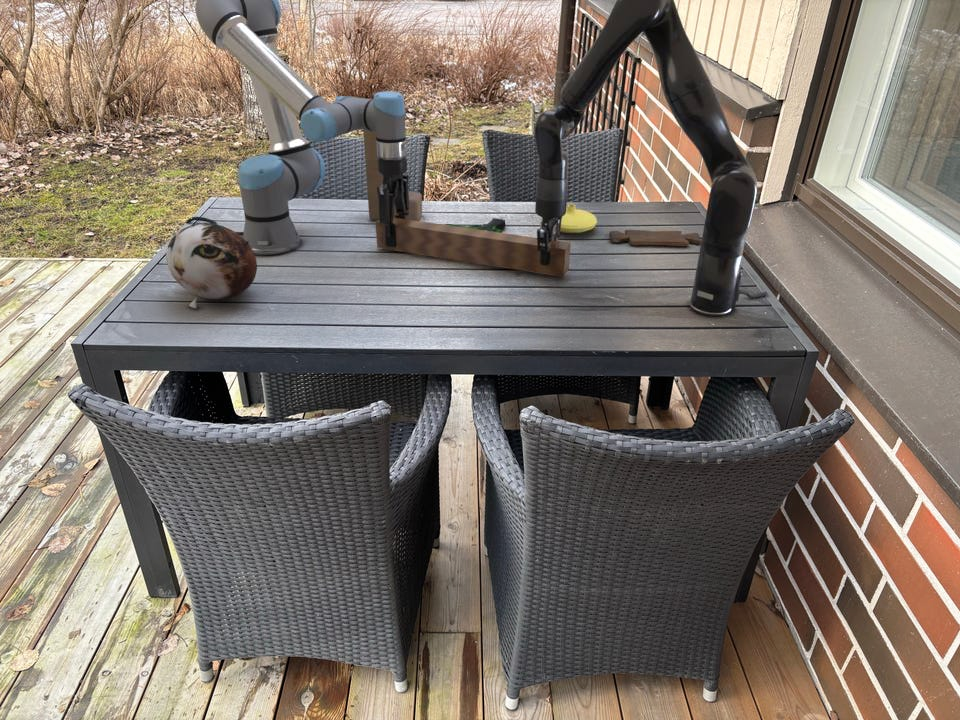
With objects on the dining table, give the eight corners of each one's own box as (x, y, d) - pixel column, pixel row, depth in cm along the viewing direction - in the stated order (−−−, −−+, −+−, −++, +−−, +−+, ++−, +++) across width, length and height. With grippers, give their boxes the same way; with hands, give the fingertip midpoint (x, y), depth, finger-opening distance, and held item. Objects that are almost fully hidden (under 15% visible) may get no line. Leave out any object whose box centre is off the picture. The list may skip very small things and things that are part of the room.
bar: (377, 247, 194) (375, 221, 190) (385, 241, 198) (383, 216, 195) (563, 277, 178) (565, 249, 174) (568, 269, 182) (570, 242, 178)
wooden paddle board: (704, 248, 200) (696, 236, 208) (705, 243, 199) (697, 230, 207) (612, 245, 200) (607, 232, 208) (612, 239, 199) (608, 227, 208)
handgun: (511, 219, 210) (493, 234, 198) (511, 228, 211) (492, 244, 199) (461, 212, 215) (440, 226, 203) (461, 221, 217) (440, 236, 204)
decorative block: (417, 223, 213) (414, 119, 198) (368, 220, 215) (361, 117, 199) (422, 214, 220) (419, 113, 204) (375, 212, 221) (368, 111, 206)
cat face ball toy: (130, 285, 161) (164, 203, 163) (192, 308, 177) (221, 233, 178) (195, 307, 151) (229, 220, 152) (254, 330, 166) (285, 250, 168)
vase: (559, 216, 220) (561, 193, 217) (605, 227, 212) (608, 204, 209) (532, 230, 209) (533, 207, 206) (580, 242, 201) (582, 218, 198)
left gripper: (388, 167, 174) (392, 256, 186) (420, 149, 189) (423, 233, 200) (361, 164, 176) (367, 252, 188) (395, 146, 191) (399, 229, 203)
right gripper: (558, 205, 165) (554, 273, 173) (574, 188, 176) (569, 252, 185) (527, 201, 167) (524, 268, 176) (545, 184, 178) (541, 248, 187)
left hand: (396, 242), depth 194 cm, fingers open, 5 cm apart
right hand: (547, 260), depth 180 cm, fingers closed on bar, 5 cm apart
